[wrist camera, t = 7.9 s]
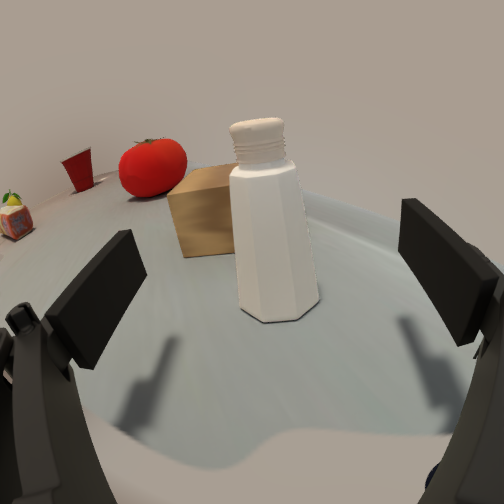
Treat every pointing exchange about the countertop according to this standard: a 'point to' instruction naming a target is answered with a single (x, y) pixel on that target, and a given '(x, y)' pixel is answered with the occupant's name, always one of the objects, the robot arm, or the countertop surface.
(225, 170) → the wood block
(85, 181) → the plastic cup
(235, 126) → the salt shaker
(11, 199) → the lemon
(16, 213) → the snack package
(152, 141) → the tomato
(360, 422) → the countertop surface
